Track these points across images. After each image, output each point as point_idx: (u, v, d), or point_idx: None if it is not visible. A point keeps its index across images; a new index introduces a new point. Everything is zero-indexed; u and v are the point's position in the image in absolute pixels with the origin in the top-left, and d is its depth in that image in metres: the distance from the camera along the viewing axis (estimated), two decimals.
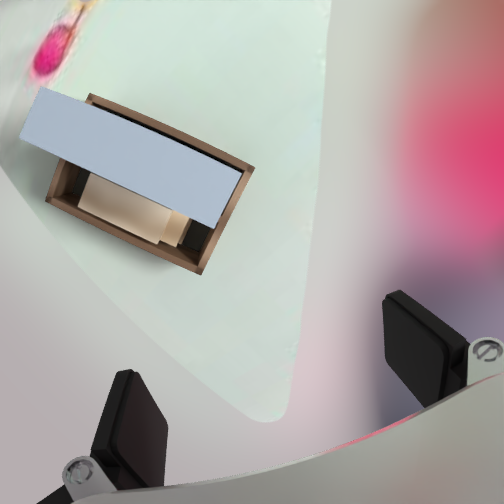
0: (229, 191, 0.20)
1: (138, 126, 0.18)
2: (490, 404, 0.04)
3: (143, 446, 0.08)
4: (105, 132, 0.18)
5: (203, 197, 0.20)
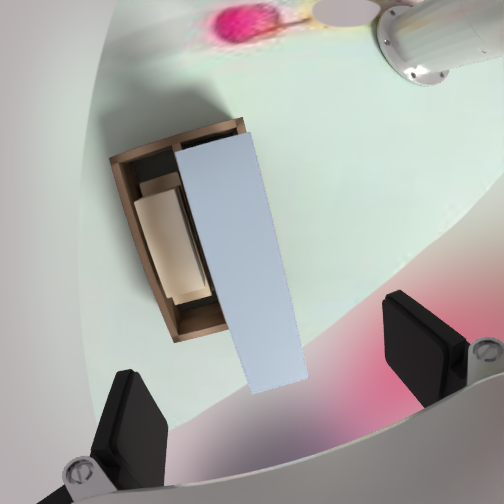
0: (288, 382, 0.20)
1: (286, 283, 0.18)
2: (490, 404, 0.04)
3: (143, 446, 0.08)
4: (257, 258, 0.18)
5: (269, 372, 0.20)
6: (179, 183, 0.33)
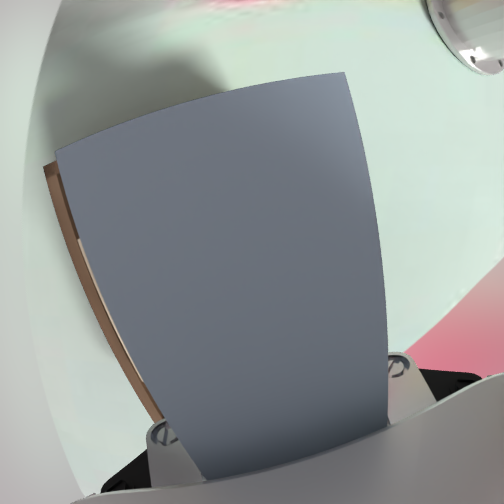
0: None
1: None
2: (490, 404, 0.04)
3: None
4: (330, 448, 0.06)
5: None
6: None
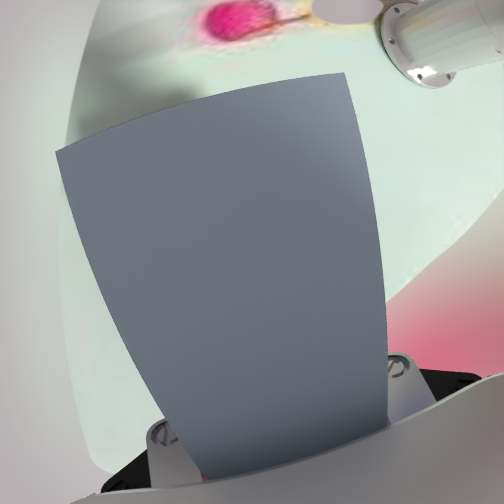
0: None
1: None
2: (490, 404, 0.04)
3: None
4: (330, 448, 0.06)
5: None
6: None
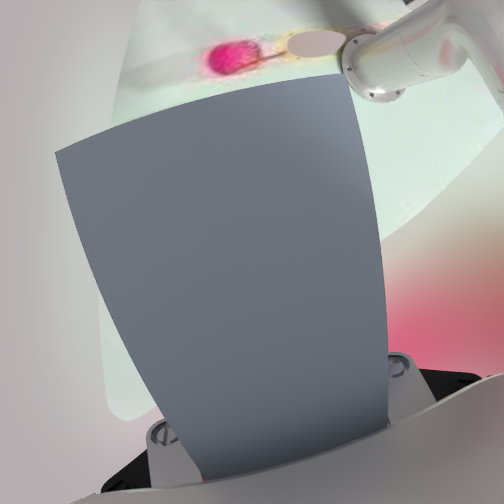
0: None
1: None
2: (490, 404, 0.04)
3: None
4: None
5: None
6: None
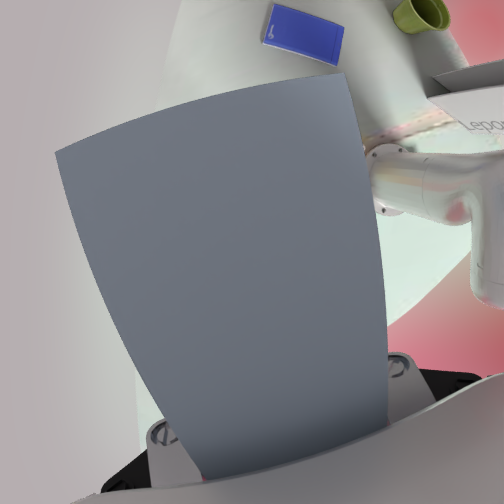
0: None
1: None
2: (490, 404, 0.04)
3: None
4: None
5: None
6: None
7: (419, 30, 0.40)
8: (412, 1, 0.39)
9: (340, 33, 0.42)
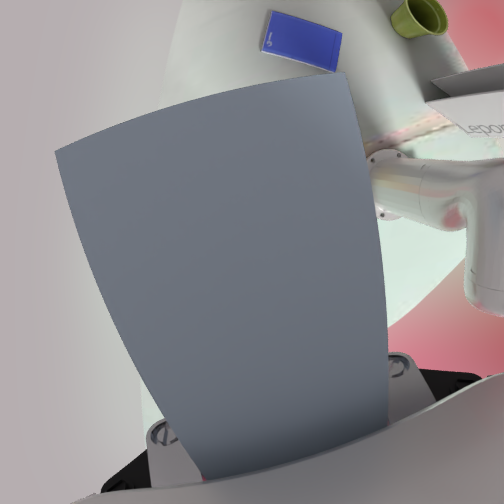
0: None
1: None
2: (490, 404, 0.04)
3: None
4: None
5: None
6: None
7: (417, 34, 0.41)
8: (410, 5, 0.39)
9: (338, 40, 0.43)
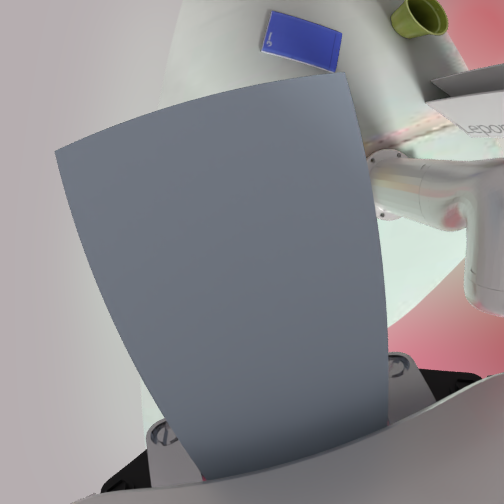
0: None
1: None
2: (490, 404, 0.04)
3: None
4: None
5: None
6: None
7: (417, 34, 0.41)
8: (410, 5, 0.39)
9: (338, 40, 0.43)
